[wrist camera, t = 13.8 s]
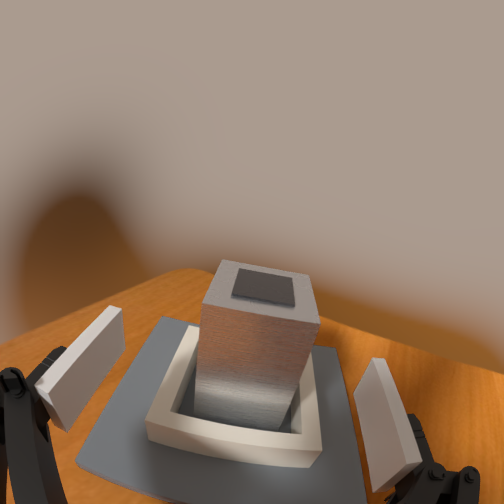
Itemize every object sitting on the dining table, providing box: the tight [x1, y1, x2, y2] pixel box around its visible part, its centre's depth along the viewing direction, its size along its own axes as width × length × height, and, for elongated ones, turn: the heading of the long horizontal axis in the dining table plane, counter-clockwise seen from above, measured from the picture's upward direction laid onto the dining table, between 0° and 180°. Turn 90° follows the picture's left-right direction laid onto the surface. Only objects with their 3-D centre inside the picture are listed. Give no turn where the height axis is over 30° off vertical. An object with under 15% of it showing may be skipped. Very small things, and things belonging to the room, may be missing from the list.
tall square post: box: [194, 260, 321, 432], centre depth 17 cm, size 6×6×10 cm
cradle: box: [75, 316, 367, 504], centre depth 19 cm, size 18×18×4 cm
